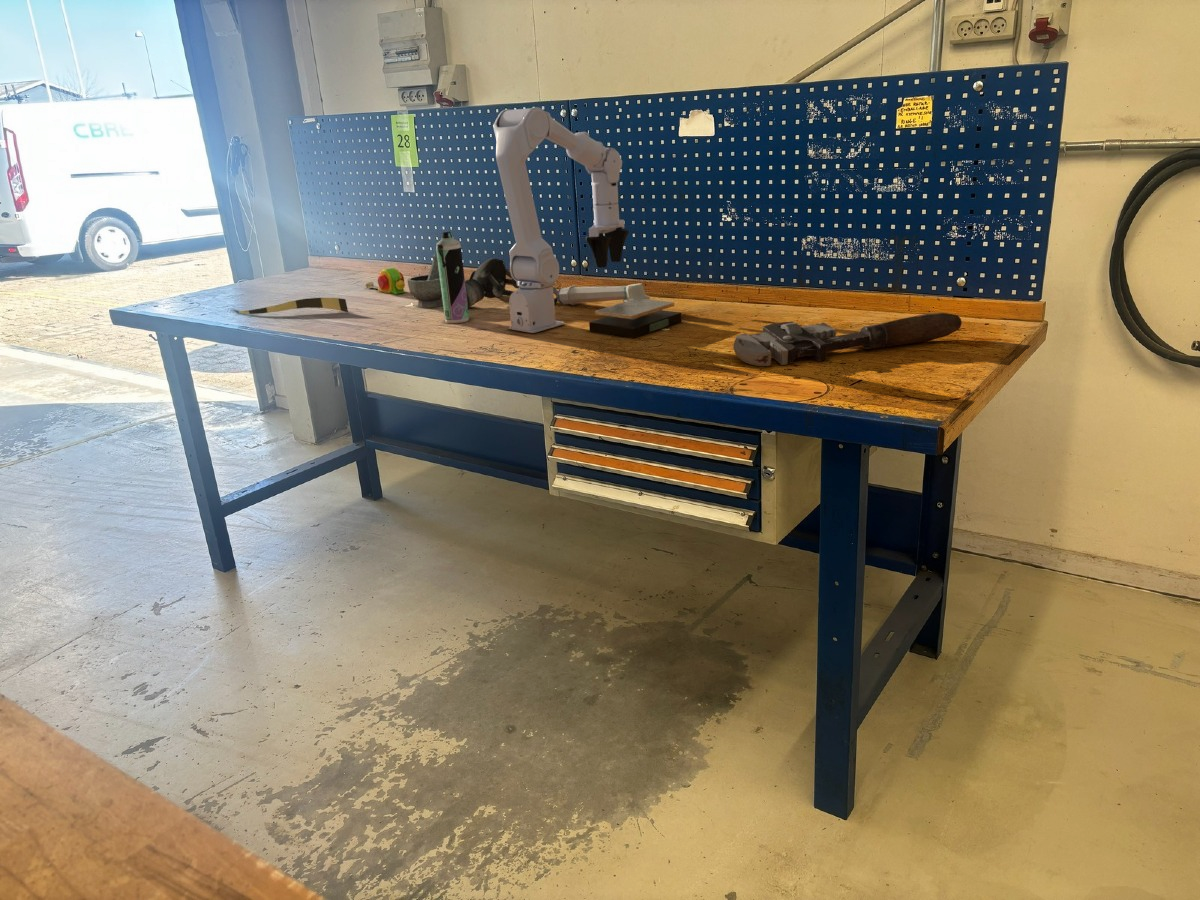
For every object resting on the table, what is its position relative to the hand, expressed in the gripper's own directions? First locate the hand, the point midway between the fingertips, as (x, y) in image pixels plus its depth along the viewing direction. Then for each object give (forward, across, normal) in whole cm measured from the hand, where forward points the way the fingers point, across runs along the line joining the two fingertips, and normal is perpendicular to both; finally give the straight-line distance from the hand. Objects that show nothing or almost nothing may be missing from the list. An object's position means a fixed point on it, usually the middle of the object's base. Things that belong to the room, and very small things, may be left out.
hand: (609, 264), depth 197 cm
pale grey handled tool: (+10, -3, +1) cm, 10 cm away
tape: (+10, -22, +82) cm, 86 cm away
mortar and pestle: (+10, -7, +47) cm, 48 cm away
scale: (+10, -18, -15) cm, 25 cm away
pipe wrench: (+10, -25, -59) cm, 65 cm away
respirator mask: (+10, -2, +26) cm, 28 cm away
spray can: (+10, -22, +29) cm, 37 cm away
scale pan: (+7, -18, -15) cm, 24 cm away
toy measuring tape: (+10, +6, +73) cm, 74 cm away
